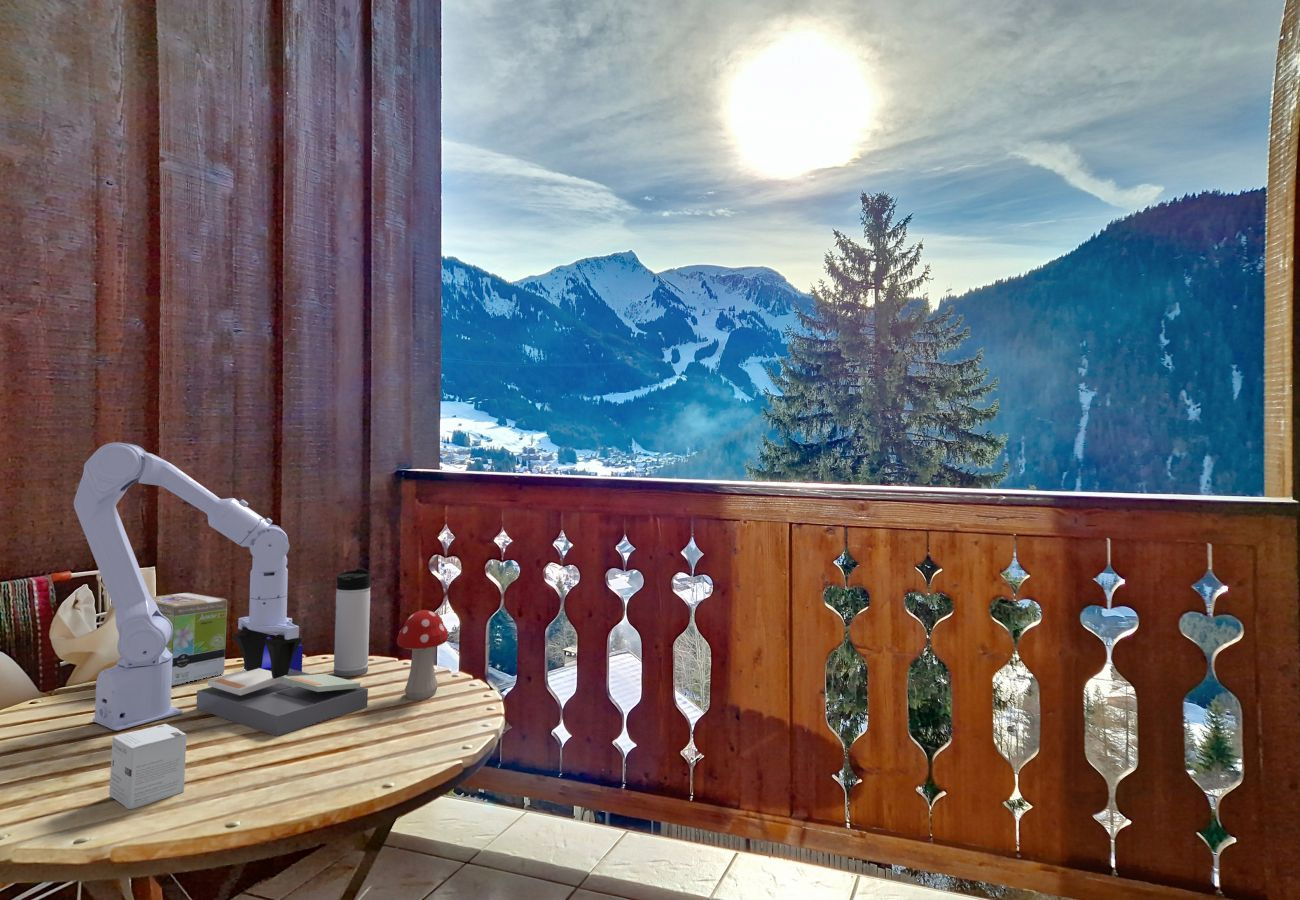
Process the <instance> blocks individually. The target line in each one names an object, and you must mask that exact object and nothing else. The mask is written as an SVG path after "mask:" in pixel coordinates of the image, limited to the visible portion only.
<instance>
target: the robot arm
mask: <svg viewBox="0 0 1300 900" xmlns="http://www.w3.org/2000/svg"><path fill="white" fill-rule="evenodd" d="M81 476H82V477H81V479H80V481H79V485H78V488H77V491H76V494H75V497H74V499H73V507H74V510H75V513H76V515H77V518H78V521H79V524H80V526H81V528H82V531H83V533H84V535H85V538H86V540H87V543H88V546H89V548H90V551H91V553H92V556H93V559H94V560H95V564H96V567H97V568H98V572H99V573H100V576H101V579H102V581H103V583H104V586H105V588H106V591H107V593H108V596H109V598H110V601H111V604H112V606H113V609H114V616H115V626H116V630H117V632H118V641H117V647H116V649H117V653H118V655H119V657H118V660H117V664H116V665H113V666H111V667H109V668H104V669H102V670H101V671H99V673H98V675H97V678H96V684H95V700H94V701H95V702H94V703H95V705H94V707H95V708H94V717H93V718H92V722H94V723H97V724H99V725H101V726H104V727H106V728H108V729H111V730H114V731H121V730H124V729H129V728H132V727H136V726H139V725H140V726H141V725H143V724H147V723H150V722H151V723H152V722H155V721H158V720H161V719H166V718H169V717H173V716H176V715H181V714H182V713H183V710H182V709H180V708H177V707H175V706H172V686H171V685H172V657H173V654H172V653H170V652H169V651H168V649H167V648H166V645H167V644H168V642H169V641H170V640H171V638H172V635H173V626H172V623H171V622H170V620H169V619H168V618H166V617H165V616H163V615H162V614H161V612H160V611H159V609H158V606H157V604H156V603H155V601H154V600H153V599H152V598H151V597H152V596H151V594H150V592H149V589H148V586H147V584H146V581H145V579H144V577H143V574H142V572H141V569H140V565H139V564H138V560H137V558H136V555H135V553H134V550H133V548H132V546H131V543H130V540H129V538H128V535H127V533H126V530H125V527H124V525H123V522H122V519H121V517H120V515H119V512H118V509H117V504H118V503H119V502H120V500H121V499H122V497H123V496H124V495H125V493H126V492H127V490H128V488H130V487H132V485H134V484H135V483H136V482H137V483H138V484H144V485H153V486H160V487H163V488H165V490H167V491H169V492H171V493H173V494H174V495H176V496H178V498H181V499H182V500H184V501H185V502H187V503H189V504H190V505H192V506H193V507H195V508H197V509H199V510H200V511H202V512H204V513H205V514H206V515H207V521H208V522H207V523H208V526H209V527H211V528H212V529H214V530H216V531H217V532H219V533H220V534H222V535H223V536H225V537H227V538H228V539H229V540H231V541H232V542H234V543H235V544H237V545H239V546H240V547H243V548H244V547H247V548H249V552H250V555H251V556H252V567H251V568H252V569H251V570H250V573H249V574H250V575H249V576H250V578H249V581H250V582H249V610H248V611H249V612H248V616H243V617H239V618H238V621H237V624H238V626H237V629H238V630H240V632H236V633H233V635H232V636H233V639H234V641H235V642H236V644H237V646H238V648H239V650H240V653H241V655H242V659H243V665H244V664H245V668H246V671H251V670H254V669H258V668H261V667H262V661H263V652H264V647H265V645H266V647H267V649H268V652H269V655H270V660H271V671H272V678H278V677H281V676H285V675H288V672H289V668H290V665H291V661H292V658H293V656H294V654H295V651H296V650H297V648H298V646H299V644H300V645H301V643H302V641H303V636H302V635H300V626H299V625H296V624H294V623H293V618H292V617H287V616H288V612H287V611H288V578H289V574H288V573H289V569H288V568H287V565H288V557H287V554H288V553H289V550H290V542H289V539H288V537H289V536H288V535H287V533H286V532H285V531H284V530H283V529H282V528H281V527H280V525H276V524H272V523H273V520H272V519H271V518H269V517H267V518H264V517H263V516H261V515H260V514H258V512H255V511H254V510H253V509H251V508H250V507H248V505H249V503H248V502H247V501H246V500H245V499H241V500H240V501H239V500H238V499H237V498H234V497H230V498H220V497H218V496H217V495H216V494H215V493H213V492H212V491H210V490H209V489H207V488H206V487H204V486H203V485H202V484H200V483H199V482H197V481H196V479H195V480H194V478H192V477H191V476H190V475H188V474H187V473H185V472H183V471H182V470H180V468H178V467H177V466H176V465H173V463H170V462H168V461H167V460H165V459H164V458H161V457H159V456H158V455H155V454H153V453H150V452H147V451H146V450H144V448H142V447H141V446H139V445H136V444H131V443H125V442H118V441H117V442H110V443H106V444H104V445H102V446H100V447H99V448H98V449H97V450H96V451H95V452H94V453H93V454H92V455H91V456H90V457H89V458H88V459H87V461H86V462H84V465H83V474H82V475H81ZM269 635H272V636H276V637H274V638H271V639H268V640H267V637H269Z"/></svg>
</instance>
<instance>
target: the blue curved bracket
mask: <svg viewBox="0 0 1300 900" xmlns="http://www.w3.org/2000/svg"><path fill="white" fill-rule="evenodd" d="M268 639H272V637H269V636H268V637H267V640H268ZM303 649H304V645H303V644H301V643H300V644H299V646H298V648H297V650H296V651H295V654H294V656H293V658H292V661H291V665H290V668H289V669H293V670H297V671H301V672H303ZM244 669H245V670H246V668H245V664H244V663H243V670H244ZM261 669H265V670H268V671H271V660H270V655H269V652H268V649H267V647H266V645H265V647H264V652H263V661H262V667H261Z"/></svg>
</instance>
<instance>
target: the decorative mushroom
mask: <svg viewBox="0 0 1300 900" xmlns="http://www.w3.org/2000/svg"><path fill="white" fill-rule="evenodd" d="M448 639H449V631H448V629H447V627H446V626H445V624H444V623H443V621H442V619H441V617H440V616H439V615H438V613H436V612H434V611H433V610H428V609H422V610H419V611H416V612H414V613H412V614H411V615H410V616H409V617H408V619H407V620H406V621H405V623H404V625H403V627H402V629H401V630H400V631H399V632H398V634H397V637H396V645H397V646H398V647H400V648H403V649H406V650H411V651H412V652H411V661H410V669H409V675H408V681H407V682H406V685H405V688H404V692H405V695H406V698H407V699H408V698H409V700H412V699H413V701H414V699H420V700H424V698H425V699H428V697H429V698H431V697H433V696H435V695H436V693H437V690H438V687H439V683H438V679H437V678H436V673H435V667H434V666H435V665H434V648H437V647H438V646H441V645H443V644H445V643H447V642H448Z"/></svg>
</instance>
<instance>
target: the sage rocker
mask: <svg viewBox="0 0 1300 900" xmlns="http://www.w3.org/2000/svg"><path fill="white" fill-rule="evenodd" d="M281 682H284V683H287V684H291V685H295V686H298V687H302V688H305V689H309V690H313V691H316V692H321V691H332V690H343V689H353V688H360V687H361V682H357V681H354V680H350V679H345V678H344V677H343V678H342V677H340V676H336V675H335V676H334V675H330V674H326V673H320V674H319V673H317V674H313V675H302V676H288V677H282V681H281Z"/></svg>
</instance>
